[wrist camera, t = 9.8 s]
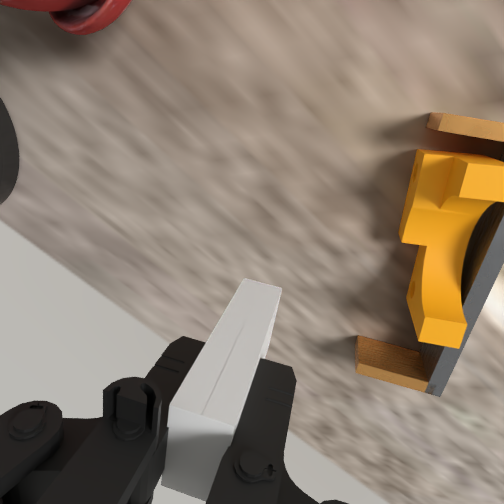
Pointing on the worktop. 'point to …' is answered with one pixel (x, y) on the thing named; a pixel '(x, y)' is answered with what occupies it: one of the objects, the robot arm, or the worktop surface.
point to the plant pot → (75, 12)
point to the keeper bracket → (472, 287)
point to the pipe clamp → (444, 235)
